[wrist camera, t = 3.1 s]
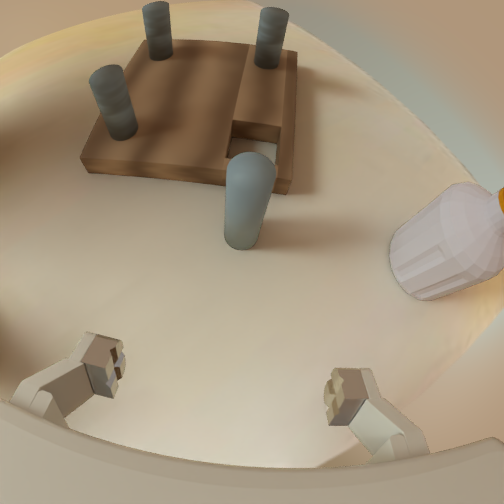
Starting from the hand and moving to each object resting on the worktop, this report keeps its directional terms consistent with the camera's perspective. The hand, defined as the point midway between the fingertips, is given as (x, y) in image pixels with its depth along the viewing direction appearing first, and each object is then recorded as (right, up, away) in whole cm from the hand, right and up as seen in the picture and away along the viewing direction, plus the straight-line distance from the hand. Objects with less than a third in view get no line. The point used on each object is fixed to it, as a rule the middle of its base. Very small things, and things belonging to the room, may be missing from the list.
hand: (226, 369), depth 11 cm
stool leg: (0, +6, +19) cm, 20 cm away
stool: (-5, +22, +24) cm, 33 cm away
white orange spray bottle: (+20, +3, +20) cm, 28 cm away
